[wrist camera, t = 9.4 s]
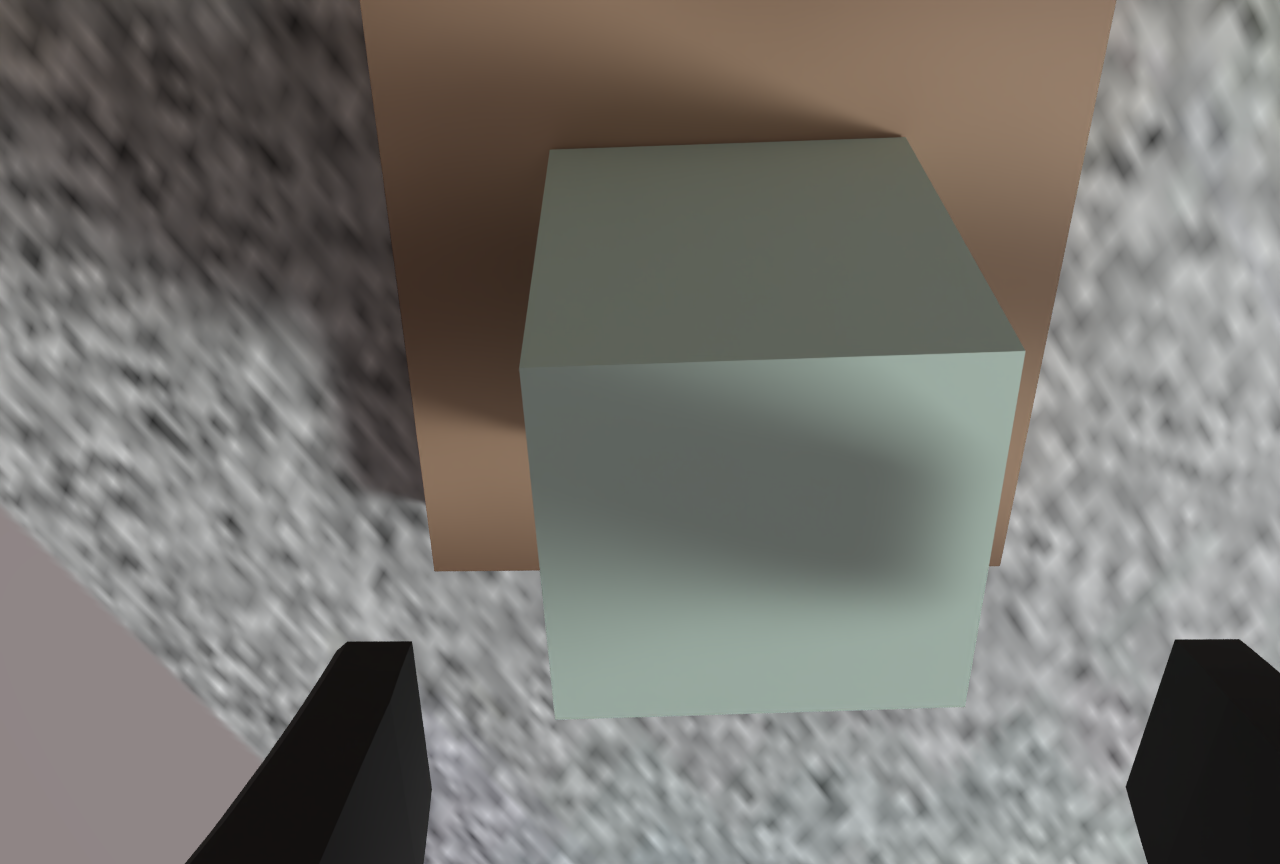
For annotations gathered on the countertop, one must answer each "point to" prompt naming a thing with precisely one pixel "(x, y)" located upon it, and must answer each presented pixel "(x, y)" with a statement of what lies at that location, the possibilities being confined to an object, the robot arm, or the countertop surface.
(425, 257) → the walnut board
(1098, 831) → the countertop surface
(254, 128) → the countertop surface
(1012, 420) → the sage block
